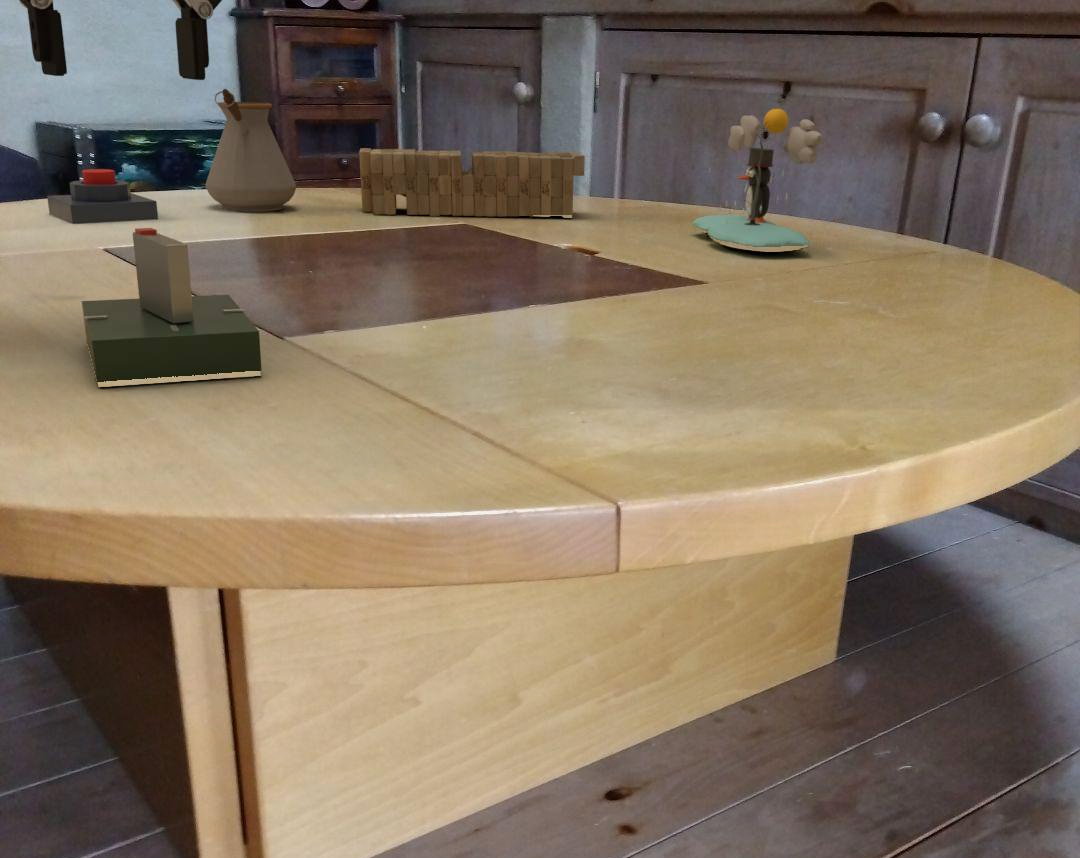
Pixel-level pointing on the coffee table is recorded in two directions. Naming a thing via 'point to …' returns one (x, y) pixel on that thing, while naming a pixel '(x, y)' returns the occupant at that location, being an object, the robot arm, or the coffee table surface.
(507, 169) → the block tower
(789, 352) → the coffee table surface
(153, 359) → the block
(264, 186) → the coffee pot
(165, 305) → the upright beige tablet
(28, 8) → the robot arm
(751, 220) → the penguin figurine
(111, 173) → the release button
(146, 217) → the button block
